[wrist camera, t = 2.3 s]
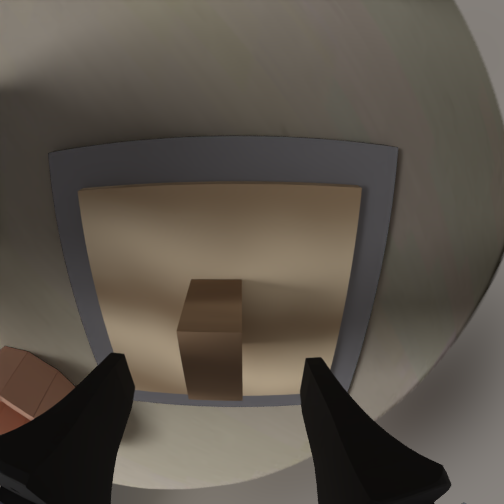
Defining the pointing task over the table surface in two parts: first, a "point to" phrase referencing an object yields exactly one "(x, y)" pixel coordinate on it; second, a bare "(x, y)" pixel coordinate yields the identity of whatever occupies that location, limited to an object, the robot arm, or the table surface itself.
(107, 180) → the mat
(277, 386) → the lid
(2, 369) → the bowl
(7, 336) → the table surface
